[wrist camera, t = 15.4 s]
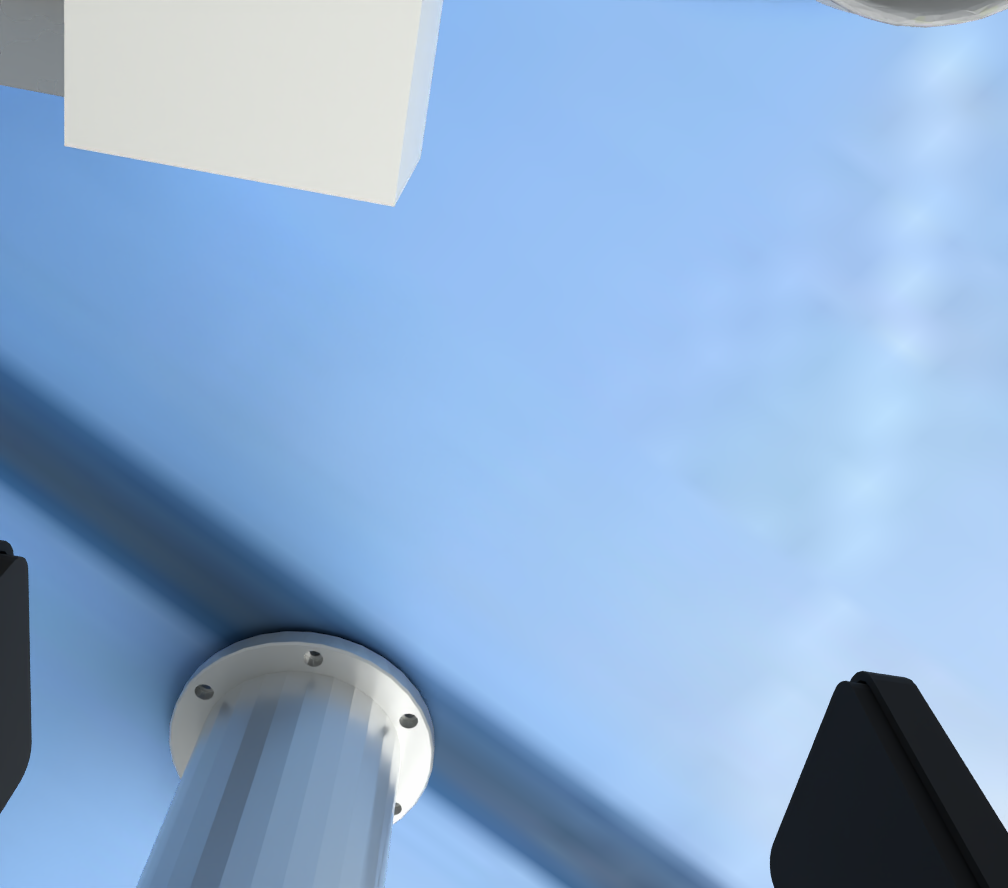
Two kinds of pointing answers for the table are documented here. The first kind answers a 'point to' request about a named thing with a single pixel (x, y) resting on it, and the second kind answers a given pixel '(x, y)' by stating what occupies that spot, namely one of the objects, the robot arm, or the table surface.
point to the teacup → (920, 10)
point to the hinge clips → (32, 45)
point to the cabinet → (256, 88)
